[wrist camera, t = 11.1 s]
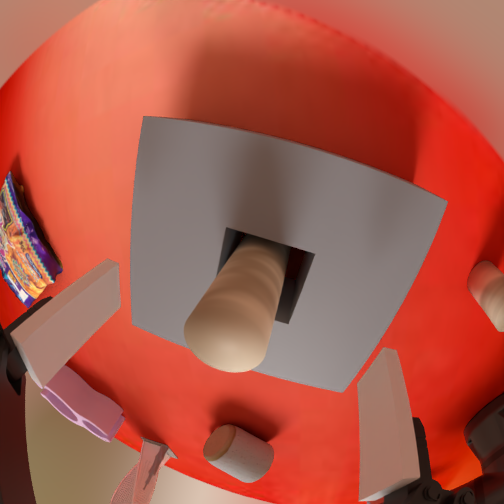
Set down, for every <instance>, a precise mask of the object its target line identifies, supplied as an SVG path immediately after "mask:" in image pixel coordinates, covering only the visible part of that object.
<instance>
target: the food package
mask: <svg viewBox="0 0 504 504" xmlns="http://www.w3.org/2000/svg"><path fill="white" fill-rule="evenodd" d="M0 269H1V271H2V277H3V278H4V281H5V282H7V284H8V286H9V287H10V289H11V290H12V291H13V292H14V293H15V295H16V297H17V298H18V299H19V300H20V301H21V302H22V303H24V304H25V305H26V306H27V308H29V307H30V305H31V304H32V302H33V301H34V300H35V299H36V298H37V297H38V296H39V295H40V294H41V293H42V292H43V290H44V289H45V287H46V286H47V285H49V284H51V283H54V282H55V279H56V276H57V274H60V273H62V271H63V266H62V263H61V261H60V260H59V258H58V257H57V256H56V254H55V253H54V251H53V250H52V248H51V246H50V245H49V243H48V242H47V241H46V240H45V238H44V235H43V233H42V230H41V228H40V227H39V225H38V223H37V221H36V219H35V218H34V217H33V215H32V213H31V212H30V210H29V208H28V206H27V204H26V202H25V199H24V188H23V185H19V184H18V183H17V181H16V179H15V177H14V175H13V173H12V172H11V171H10V172H9V173H8V175H7V176H6V179H5V182H4V184H3V186H2V189H1V192H0Z"/></svg>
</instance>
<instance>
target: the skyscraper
mask: <svg viewBox="0 0 504 504" xmlns="http://www.w3.org/2000/svg"><path fill="white" fill-rule="evenodd" d="M141 438H142V440H143V444H142V448H141V453H140V458H139V462H138V463H137V464H136V465H135V466H134V467H133V468H132V469H131V470H130V471H129V473H128V474H127V475H126V476H125V477H124V479H123V480H122V481H121V482H120V484H119V485H118V487H117V489H116V490H115V492H114V494H113V496H112V499H111V501H110V504H149V502H150V500H151V497H152V495H153V492H154V489H155V485H156V481H157V477H158V472H159V470H160V468H161V467H162V466H163V465H164V464H165V463H166V462H167V461H168V459H169V458H170V457H173V458H177V456H176V455H175V454H174V453H173V452H172V450H171V449H170V448H169V447H168V446H167V445H165V444H162V443H158V442H155V441H152V440H149V439H146V438H143V437H141ZM177 459H178V458H177Z"/></svg>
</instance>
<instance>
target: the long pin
mask: <svg viewBox="0 0 504 504" xmlns="http://www.w3.org/2000/svg"><path fill="white" fill-rule="evenodd" d="M290 251H291V246H288V245H285V244H282V243H278V242H275V241H272V240H268V239H265V238H262V237H258V236H255V235H251V234H248V233H247V234H246V235H245V237H244V238H243V239H242V241H241V242H240V244H239V245H238V247H237V248H236V249H235V251H234V252H233V254H232V255H231V257H230V258H229V259H228V261H227V262H226V264H225V265H224V267H223V268H222V269H221V271H220V272H219V274H218V275H217V277H216V278H215V279H214V281H213V282H212V284H211V285H210V287H209V288H208V289H207V291H206V292H205V294H204V295H203V297H202V298H201V300H200V301H199V303H198V304H197V305H196V307H195V308H194V310H193V311H192V313H191V314H190V316H189V317H188V319H187V320H186V322H185V325H184V337H185V341H186V343H187V345H188V347H189V348H190V350H191V351H192V352H193V353H194V355H195V356H196V357H198V358H199V359H200V360H201V361H203V362H204V363H206V364H207V365H209V366H211V367H213V368H216V369H219V370H222V371H227V372H244V371H248V370H251V369H253V368H255V367H257V366H258V365H259V364H260V363H261V362H262V361H263V359H264V357H265V355H266V351H267V347H268V343H269V339H270V336H271V332H272V328H273V324H274V320H275V316H276V311H277V307H278V303H279V299H280V295H281V291H282V286H283V282H284V278H285V273H286V269H287V264H288V260H289V255H290Z"/></svg>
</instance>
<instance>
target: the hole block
mask: <svg viewBox="0 0 504 504" xmlns="http://www.w3.org/2000/svg"><path fill="white" fill-rule="evenodd" d="M447 203H448V201H446V200H444V199H442V198H441V197H439V196H437V195H435V194H433V193H431V192H429V191H427V190H426V189H424V188H422V187H420V186H418V185H416V184H414V183H411V182H409V181H407V180H405V179H402V178H400V177H397V176H395V175H392V174H390V173H388V172H385V171H382V170H380V169H377V168H375V167H372V166H369V165H367V164H364V163H361V162H358V161H356V160H353V159H350V158H347V157H344V156H341V155H338V154H335V153H332V152H329V151H325V150H322V149H319V148H316V147H312V146H309V145H305V144H302V143H298V142H295V141H291V140H287V139H283V138H279V137H275V136H271V135H267V134H263V133H259V132H254V131H250V130H245V129H240V128H235V127H230V126H225V125H219V124H214V123H208V122H202V121H195V120H189V119H179V118H167V117H152V116H143V122H142V128H141V134H140V140H139V147H138V155H137V162H136V171H135V180H134V191H133V204H132V220H131V246H130V286H131V312H132V325H134V326H136V327H139V328H141V329H143V330H145V331H147V332H150V333H152V334H154V335H157V336H159V337H161V338H164V339H166V340H169V341H171V342H173V343H176V344H178V345H181V346H184V347H186V348H189V347H188V345H187V343H186V341H185V337H184V325H185V322H186V320H187V319H188V317H189V316H190V314H191V313H192V311H193V310H194V308H195V307H196V305H197V304H198V303H199V301H200V300H201V298H202V297H203V295H204V294H205V292H206V291H207V289H208V288H209V287H210V285H211V284H212V282H213V281H214V279H215V278H216V277H217V275H218V274H219V272H220V271H221V269H222V268H223V267H224V265H225V264H226V262H227V261H228V259H229V258H230V257H231V255H232V254H233V252H234V251H235V249H236V248H237V247H238V245H239V244H240V241H241V236H242V232H245V233H248V234H251V235H255V236H258V237H262V238H265V239H268V240H272V241H275V242H278V243H282V244H285V245H288V246H291V247H295V248H298V249H301V250H305V254H304V257H303V260H302V263H301V266H300V268H299V271H298V274H297V277H296V280H294V279H291V278H288V277H285V278H284V282H283V286H282V291H281V295H280V299H279V303H278V307H277V311H276V316H275V320H274V324H273V328H272V332H271V336H270V339H269V343H268V347H267V351H266V355H265V357H264V359H263V361H262V362H261V363H260V364H259V365H258V366H257V367H255V368H253V369H251V370H253V371H256V372H260V373H263V374H267V375H270V376H274V377H277V378H281V379H285V380H289V381H292V382H296V383H301V384H305V385H309V386H313V387H318V388H322V389H327V390H332V391H337V392H342V393H343V392H344V390H345V389H346V388H347V387H348V385H349V384H350V383H351V381H352V380H353V379H354V377H355V376H356V375H357V373H358V372H359V370H360V369H361V368H362V366H363V365H364V363H365V362H366V360H367V359H368V358H369V356H370V355H371V353H372V352H373V350H374V349H375V347H376V346H377V344H378V343H379V341H380V339H381V338H382V336H383V335H384V333H385V331H386V330H387V328H388V327H389V325H390V323H391V322H392V320H393V318H394V317H395V315H396V313H397V311H398V310H399V308H400V306H401V304H402V302H403V301H404V299H405V297H406V295H407V293H408V291H409V290H410V288H411V286H412V284H413V282H414V280H415V278H416V276H417V274H418V272H419V270H420V268H421V266H422V264H423V261H424V259H425V257H426V255H427V253H428V250H429V248H430V246H431V244H432V241H433V239H434V237H435V234H436V232H437V229H438V227H439V224H440V222H441V219H442V217H443V214H444V211H445V209H446V206H447ZM189 349H190V348H189Z"/></svg>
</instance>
